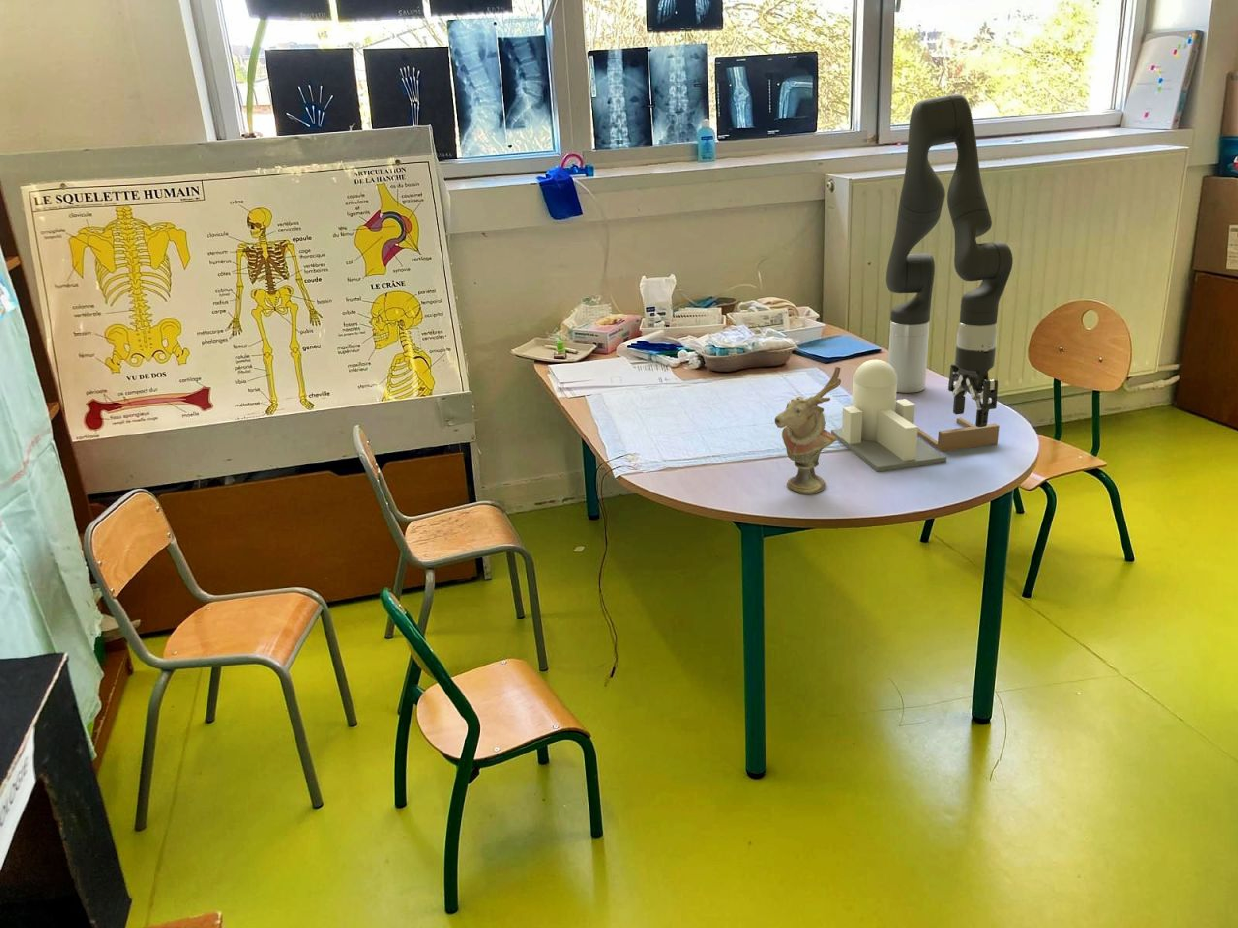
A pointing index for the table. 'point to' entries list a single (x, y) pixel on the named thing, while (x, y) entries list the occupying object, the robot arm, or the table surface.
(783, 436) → the decorative bust
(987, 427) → the brown u-shaped frame
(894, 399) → the bracket-mounted cylinder
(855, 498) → the table surface
